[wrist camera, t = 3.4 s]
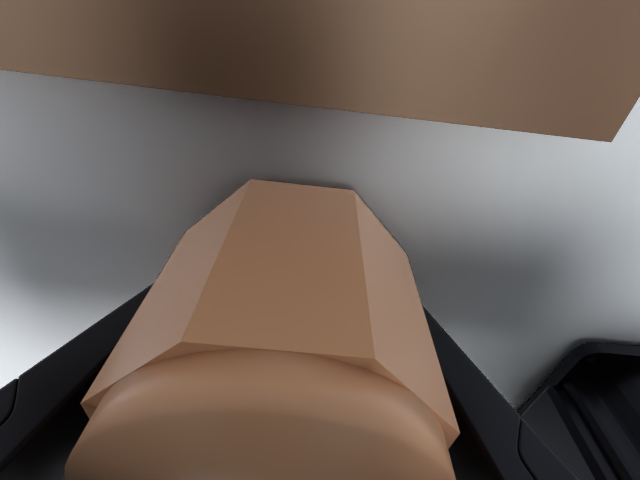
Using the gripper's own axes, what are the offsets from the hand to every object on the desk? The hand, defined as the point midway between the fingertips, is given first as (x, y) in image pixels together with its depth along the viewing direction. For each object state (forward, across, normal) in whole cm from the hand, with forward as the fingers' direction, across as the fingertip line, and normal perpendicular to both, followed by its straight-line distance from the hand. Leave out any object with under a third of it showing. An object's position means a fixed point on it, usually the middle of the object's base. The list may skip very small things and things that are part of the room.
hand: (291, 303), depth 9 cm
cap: (+1, 0, 0) cm, 1 cm away
